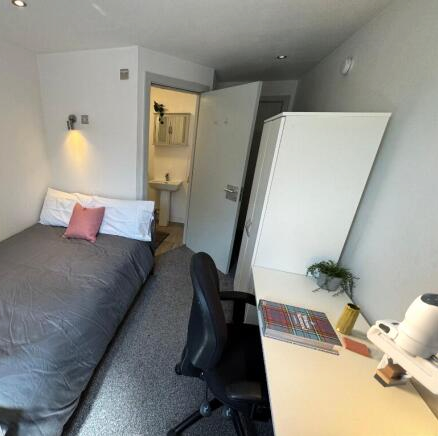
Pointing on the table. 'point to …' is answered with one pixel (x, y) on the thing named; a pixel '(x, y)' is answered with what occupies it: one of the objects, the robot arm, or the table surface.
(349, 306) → the vase
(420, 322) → the robot arm
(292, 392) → the table surface
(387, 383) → the brush
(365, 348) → the tile
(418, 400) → the table surface
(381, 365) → the cosmetic box
